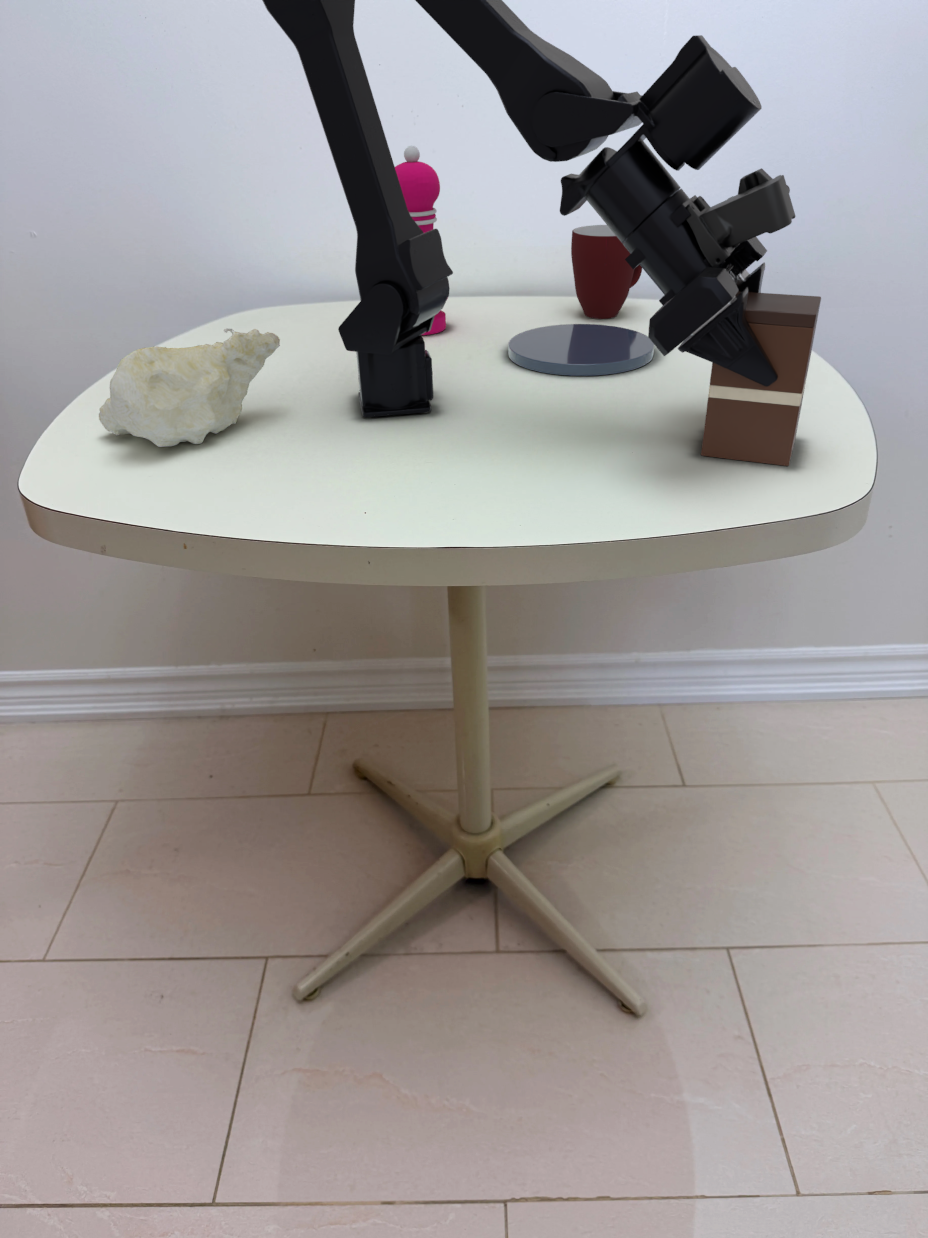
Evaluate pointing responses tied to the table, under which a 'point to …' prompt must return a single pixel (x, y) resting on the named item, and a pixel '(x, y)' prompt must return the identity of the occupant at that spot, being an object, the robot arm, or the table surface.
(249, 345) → the white seashell
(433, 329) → the pepper mill
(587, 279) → the mug
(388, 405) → the robot arm
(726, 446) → the cake slice
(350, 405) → the table surface
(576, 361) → the plate
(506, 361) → the table surface
